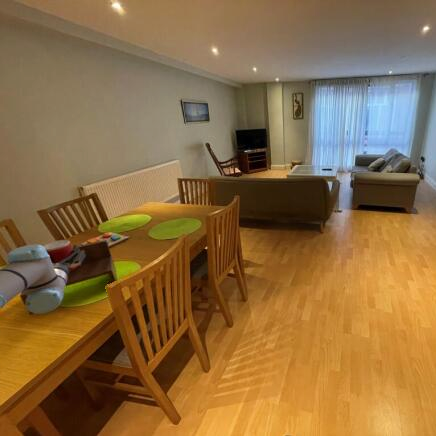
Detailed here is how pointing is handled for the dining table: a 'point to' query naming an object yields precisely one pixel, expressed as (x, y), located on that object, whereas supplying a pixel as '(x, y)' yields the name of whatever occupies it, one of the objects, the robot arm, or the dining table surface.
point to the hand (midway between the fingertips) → (62, 250)
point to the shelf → (90, 265)
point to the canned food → (59, 251)
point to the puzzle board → (107, 239)
